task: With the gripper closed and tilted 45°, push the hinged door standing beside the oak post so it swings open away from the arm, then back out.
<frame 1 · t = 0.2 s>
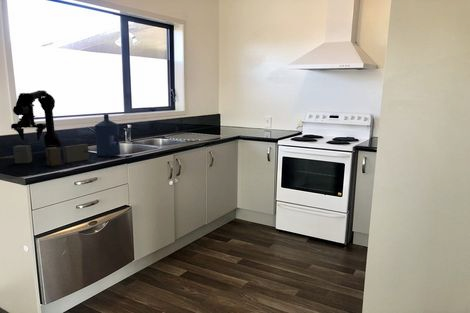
hand: (30, 140, 219), 15 cm above the worktop, tool pointing down, fingers open, 9 cm apart
small box: (23, 162, 227), on the worktop
oak post: (54, 164, 221), on the worktop
water jug: (108, 154, 253), on the worktop
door: (76, 153, 228), point 5 cm above the worktop, hinge at 0.0°
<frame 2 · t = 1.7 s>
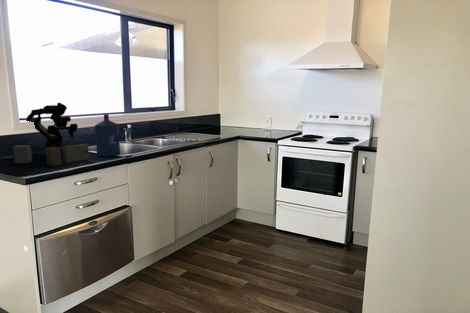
hand: (67, 138, 235), 14 cm above the worktop, tool tilted 45°, fingers open, 7 cm apart
nothing on the worktop moved.
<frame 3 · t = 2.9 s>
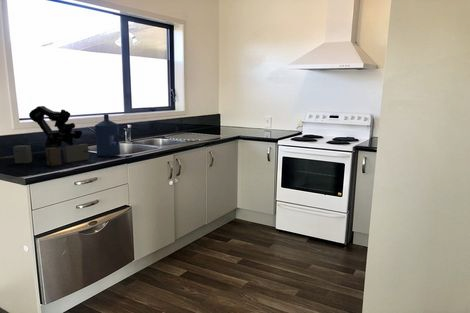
hand: (72, 145, 233), 9 cm above the worktop, tool tilted 45°, fingers closed
nothing on the worktop moved.
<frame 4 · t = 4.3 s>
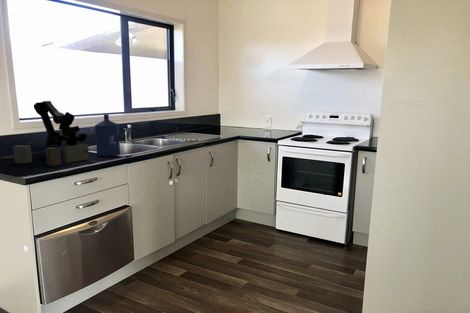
hand: (76, 148, 229), 8 cm above the worktop, tool tilted 45°, fingers closed, pressing on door
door: (76, 153, 228), point 5 cm above the worktop, hinge at 0.3°, touching gripper
everything else where it was.
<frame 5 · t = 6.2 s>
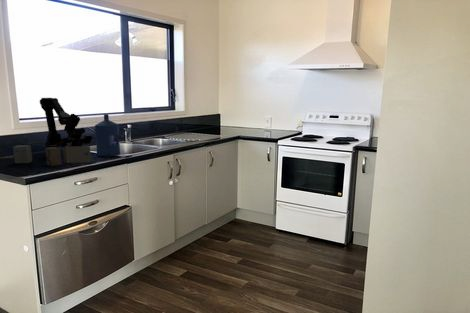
hand: (81, 151, 225), 7 cm above the worktop, tool tilted 45°, fingers closed
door: (76, 154, 224), point 5 cm above the worktop, hinge at 42.6°, touching gripper
everything else where it was.
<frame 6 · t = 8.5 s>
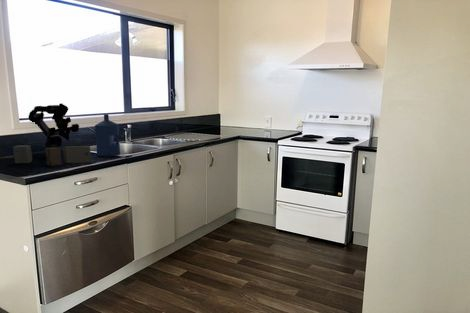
hand: (68, 140, 234), 13 cm above the worktop, tool tilted 40°, fingers closed
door: (76, 154, 224), point 5 cm above the worktop, hinge at 42.6°
everything else where it was.
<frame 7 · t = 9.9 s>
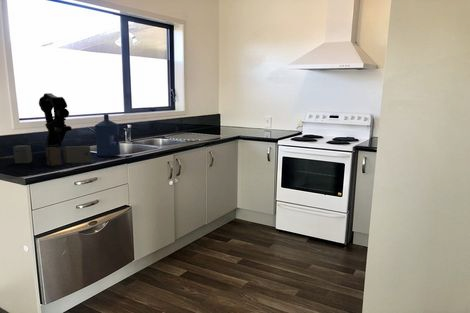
hand: (61, 141, 234), 12 cm above the worktop, tool pointing down, fingers closed
nothing on the worktop moved.
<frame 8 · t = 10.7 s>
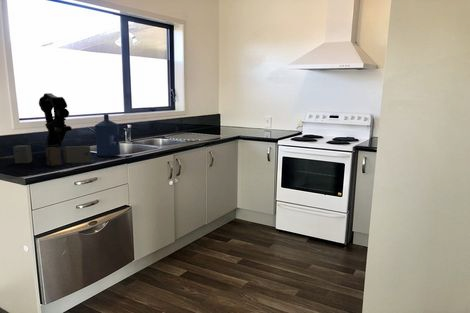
hand: (61, 141, 234), 12 cm above the worktop, tool pointing down, fingers closed
nothing on the worktop moved.
at the end: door at +43° (first picture: +0°); small box moved 0.3 cm from its start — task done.
